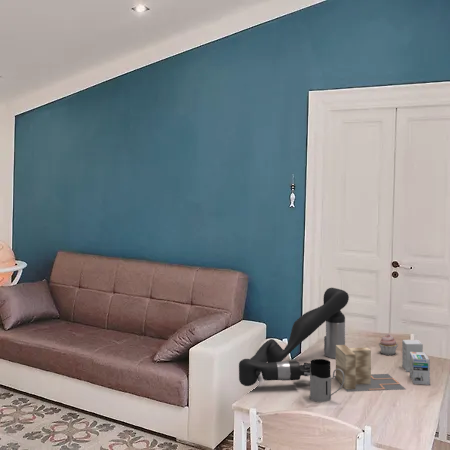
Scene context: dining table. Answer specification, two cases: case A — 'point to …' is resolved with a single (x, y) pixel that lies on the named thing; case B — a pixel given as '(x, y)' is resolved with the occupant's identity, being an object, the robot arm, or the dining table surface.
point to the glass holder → (321, 380)
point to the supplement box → (407, 348)
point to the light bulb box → (419, 368)
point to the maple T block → (353, 366)
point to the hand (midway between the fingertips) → (329, 369)
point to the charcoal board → (378, 384)
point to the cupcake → (388, 345)
